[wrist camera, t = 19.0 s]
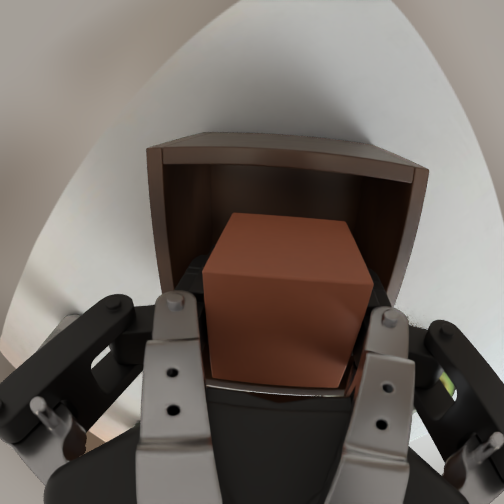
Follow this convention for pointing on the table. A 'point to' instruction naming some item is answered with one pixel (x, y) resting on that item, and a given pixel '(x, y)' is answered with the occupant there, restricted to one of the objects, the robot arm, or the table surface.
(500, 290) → the table surface
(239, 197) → the box
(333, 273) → the block
